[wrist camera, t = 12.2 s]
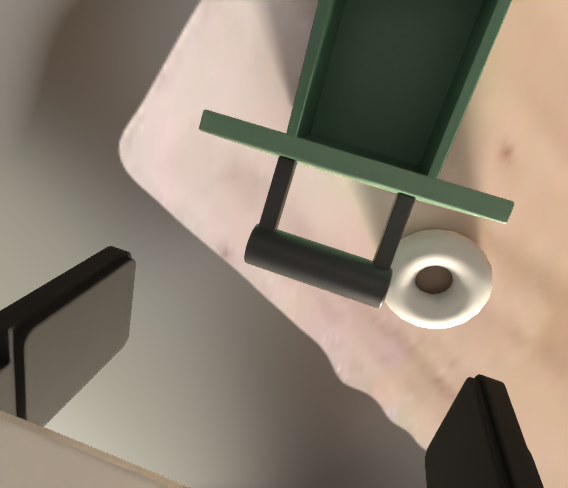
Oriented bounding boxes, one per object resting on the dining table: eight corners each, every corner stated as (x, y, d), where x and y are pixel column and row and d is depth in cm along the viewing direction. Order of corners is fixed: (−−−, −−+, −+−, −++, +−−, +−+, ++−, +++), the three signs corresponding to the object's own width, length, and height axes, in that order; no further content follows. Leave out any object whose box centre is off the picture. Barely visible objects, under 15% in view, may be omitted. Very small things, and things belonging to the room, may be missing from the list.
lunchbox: (352, -61, 32) (341, -96, 25) (504, -26, 30) (534, -53, 24) (301, 138, 39) (282, 151, 32) (424, 175, 37) (430, 196, 30)
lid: (202, 108, 15) (167, 248, 17) (516, 202, 14) (455, 349, 15) (282, 147, 31) (261, 217, 33) (432, 192, 30) (405, 264, 31)
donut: (499, 303, 40) (473, 209, 37) (508, 323, 37) (481, 223, 34) (396, 325, 43) (366, 240, 41) (397, 344, 40) (363, 255, 38)
